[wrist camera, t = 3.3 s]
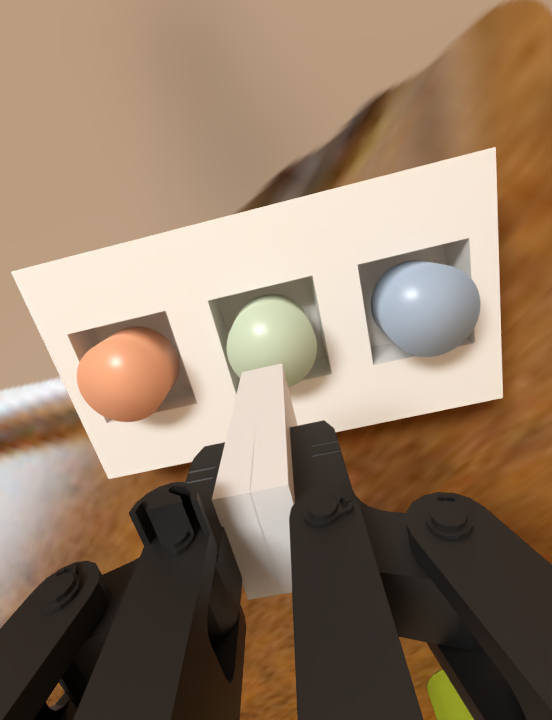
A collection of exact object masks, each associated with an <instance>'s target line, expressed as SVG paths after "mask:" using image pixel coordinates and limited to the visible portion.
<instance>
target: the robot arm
mask: <svg viewBox="0 0 552 720" xmlns="http://www.w3.org/2000/svg"><path fill="white" fill-rule="evenodd" d="M129 515H130V517H131V519H132V521H133V523H134V525H135V527H136V529H137V532H138V534H139V536H140V538H141V540H142V542H143V544H144V548H143V551H142V553H141V556H140V557H139V558H138V559H136V560H134V561H132V562H130V563H128V564H126V565H123V566H121V567H119V568H117V569H115V570H112V571H110V572H108V573H106V574H103V575H102V574H101V572H100V570H99V569H98V567H97V565H96V563H93V562H90V561H82V562H75V563H73V564H70V565H68V566H66V567H63V568H61V569H60V570H58V571H57V572H55V573H54V574H52V575H51V576H49V577H48V578H46V579H45V580H44V581H43V582H42V583H41V584H40V585H39V586H38V587H37V588H36V589H35V590H34V591H33V592H32V593H31V594H30V595H29V597H28V598H27V599H26V600H25V601H24V602H23V603H22V605H21V606H20V607H19V608H18V609H17V610H16V611H15V613H14V614H13V615H12V616H11V617H10V618H9V620H8V621H7V622H6V623H5V624H4V625H3V626H2V628H1V629H0V720H239V719H240V705H241V691H242V677H243V663H244V649H245V635H246V623H245V615H244V613H243V610H242V608H241V605H240V599H241V589H242V584H243V587H244V589H245V592H246V595H247V598H248V600H250V599H256V598H261V597H267V596H273V595H279V594H285V593H290V592H292V599H293V622H294V645H295V668H296V692H297V715H298V720H423V717H422V713H421V710H420V707H419V703H418V700H417V697H416V693H415V690H414V687H413V683H412V680H411V677H410V673H409V670H408V667H407V663H406V660H405V657H404V653H403V650H402V647H401V643H400V640H399V637H404V638H409V639H414V640H419V641H424V642H427V644H428V646H429V647H430V649H431V651H432V652H433V654H434V656H435V657H436V659H437V660H438V662H439V664H440V665H441V667H442V669H443V670H444V672H445V673H446V675H447V677H448V678H449V680H450V682H451V683H452V685H453V686H454V688H455V690H456V691H457V693H458V695H459V696H460V698H461V699H462V701H463V703H464V704H465V706H466V708H467V709H468V711H469V712H470V714H471V716H472V717H473V719H474V720H552V565H551V564H550V563H549V562H548V561H546V560H545V559H544V558H543V557H542V556H541V555H539V554H538V553H537V552H536V551H535V550H534V549H532V548H531V547H530V546H529V545H528V544H527V543H525V542H524V541H523V540H522V539H521V538H520V537H518V536H517V535H516V534H515V533H514V532H513V531H511V530H510V529H509V528H508V527H507V526H506V525H504V524H503V523H502V522H501V521H500V520H499V519H497V518H496V517H495V516H494V515H493V514H492V513H490V512H489V511H488V510H487V509H486V508H485V507H483V506H482V505H480V504H479V503H477V502H475V501H474V500H472V499H471V498H468V497H465V496H462V495H458V494H455V493H441V492H437V493H433V494H428V495H424V496H422V497H421V498H419V499H417V500H416V501H414V502H413V503H412V504H411V506H410V507H409V509H408V511H407V513H397V512H387V511H381V510H377V509H375V508H372V507H369V506H368V505H366V504H364V503H363V502H361V501H360V500H359V499H358V498H357V497H356V496H355V494H354V492H353V490H352V487H351V483H350V480H349V476H348V473H347V470H346V466H345V463H344V459H343V456H342V453H341V449H340V446H339V443H338V439H337V436H336V432H335V429H334V428H333V427H332V426H331V425H330V424H328V423H327V422H326V421H325V420H323V421H318V422H313V423H308V424H304V425H299V426H298V425H297V421H296V417H295V413H294V409H293V405H292V401H291V397H290V393H289V389H288V385H287V381H286V377H285V373H284V368H283V364H282V363H281V364H277V365H272V366H268V367H264V368H259V369H255V370H250V371H246V372H242V374H241V378H240V382H239V386H238V390H237V395H236V399H235V403H234V407H233V412H232V416H231V420H230V424H229V429H228V433H227V437H226V441H225V442H223V443H219V444H214V445H209V446H204V447H203V448H202V450H201V451H200V452H199V453H198V454H197V455H196V456H195V457H194V459H193V461H192V464H191V467H190V470H189V474H188V475H187V478H186V481H185V482H175V483H170V484H167V485H164V486H160V487H158V488H156V489H155V490H153V491H151V492H149V493H147V494H146V495H145V496H144V497H143V498H141V499H140V500H139V501H138V502H137V503H136V504H135V505H134V507H133V508H132V509H131V511H130V512H129ZM398 636H399V637H398ZM58 682H59V683H60V685H61V686H62V688H63V689H64V691H65V693H64V694H63V696H62V697H61V698H60V699H59V701H58V702H57V703H56V704H55V705H53V706H51V707H48V705H47V704H46V703H45V702H46V700H47V699H48V697H49V696H50V694H51V693H52V691H53V690H54V688H55V687H56V685H57V684H58Z"/></svg>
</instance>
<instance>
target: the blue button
mask: <svg viewBox="0 0 552 720" xmlns="http://www.w3.org/2000/svg"><path fill="white" fill-rule="evenodd" d="M371 313H372V317H373V319H374V321H375V323H376V325H377V326H378V328H379V329H380V330H381V331H382V332H383V333H384V334H385V335H387V336H388V337H389V338H390V339H391V340H392V341H393V342H394V343H395V344H396V345H397V346H398V347H399V348H401V349H402V350H403V351H405V352H407V353H409V354H412V355H415V356H419V357H433V356H439V355H442V354H445V353H447V352H449V351H451V350H453V349H455V348H456V347H458V346H459V345H460V344H461V343H463V342H464V341H465V340H466V339H467V337H468V336H469V335H470V334H471V332H472V331H473V329H474V327H475V325H476V323H477V321H478V317H479V314H480V295H479V292H478V289H477V287H476V285H475V283H474V281H473V280H472V279H471V278H470V277H469V276H468V275H467V274H466V273H465V272H463V271H462V270H460V269H458V268H455V267H452V266H448V265H443V264H439V263H434V262H429V261H424V260H409V261H404V262H401V263H399V264H397V265H395V266H393V267H391V268H390V269H389V270H388V271H386V272H385V273H384V274H383V275H382V276H381V278H380V279H379V280H378V282H377V284H376V285H375V288H374V290H373V293H372V297H371Z"/></svg>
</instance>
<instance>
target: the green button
mask: <svg viewBox="0 0 552 720" xmlns="http://www.w3.org/2000/svg"><path fill="white" fill-rule="evenodd" d="M316 354H317V341H316V337H315V333H314V331H313V328H312V326H311V323H310V320H309V318H308V316H307V314H306V312H305V311H304V309H303V308H302V307H301V306H300V305H299V304H298V303H297V302H295V301H294V300H292V299H290V298H288V297H286V296H283V295H278V294H267V295H262V296H258V297H256V298H254V299H252V300H250V301H249V302H248V303H246V304H245V305H244V306H243V307H242V308H241V310H240V311H239V313H238V315H237V317H236V319H235V321H234V323H233V325H232V328H231V330H230V332H229V335H228V339H227V356H228V360H229V363H230V365H231V367H232V369H233V370H234V372H235V373H236V374H237V375H238V377H239V378H241V374H242V372H246V371H250V370H255V369H259V368H264V367H268V366H272V365H277V364H281V363H282V364H283V368H284V373H285V377H286V381H287V385H288V388H289V387H291V386H293V385H295V384H297V383H298V382H300V381H301V380H302V379H303V378H304V377H305V376H306V375H307V374H308V373H309V372H310V370H311V368H312V367H313V364H314V362H315V359H316Z"/></svg>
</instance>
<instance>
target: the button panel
mask: <svg viewBox="0 0 552 720" xmlns="http://www.w3.org/2000/svg"><path fill="white" fill-rule="evenodd" d="M409 260H424V261H429V262H434V263H439V264H443V265H448V266H452V267H455V268H458V269H460V270H462V271H463V272H465V273H466V274H467V275H468V276H469V277H470V278H471V279H472V280H473V281H474V283H475V285H476V287H477V289H478V292H479V295H480V314H479V317H478V321H477V323H476V325H475V327H474V329H473V331H472V332H471V334H470V335H469V336H468V337H467V339H466V340H465V341H464V342H463V343H461V344H460V345H459V346H458V347H456V348H455V349H453V350H451V351H449V352H447V353H445V354H442V355H439V356H433V357H419V356H415V355H412V354H409V353H407V352H405V351H403V350H402V349H401V348H399V347H398V346H397V345H396V344H395V343H394V342H393V341H392V340H391V339H390V338H389V337H388V336H387V335H385V334H384V333H383V332H382V331H381V330H380V329H379V328H378V326H377V325H376V323H375V321H374V319H373V317H372V313H371V297H372V293H373V290H374V288H375V285H376V284H377V282H378V280H379V279H380V278H381V276H382V275H383V274H384V273H385V272H386V271H388V270H389V269H390V268H391V267H393V266H395V265H397V264H399V263H401V262H404V261H409ZM11 273H12V275H13V277H14V279H15V282H16V284H17V286H18V288H19V290H20V292H21V294H22V296H23V299H24V301H25V303H26V305H27V307H28V309H29V311H30V313H31V315H32V318H33V320H34V322H35V324H36V326H37V328H38V330H39V332H40V335H41V337H42V339H43V341H44V343H45V345H46V347H47V349H48V352H49V354H50V356H51V358H52V360H53V362H54V364H55V366H56V368H57V371H58V373H59V375H60V377H61V379H62V381H63V383H64V385H65V388H66V390H67V392H68V394H69V396H70V398H71V400H72V402H73V404H74V407H75V409H76V411H77V413H78V415H79V417H80V419H81V421H82V424H83V426H84V428H85V430H86V432H87V434H88V436H89V438H90V440H91V443H92V445H93V447H94V449H95V451H96V453H97V455H98V457H99V460H100V462H101V464H102V466H103V468H104V470H105V472H106V474H107V476H108V479H111V478H116V477H121V476H126V475H130V474H135V473H140V472H145V471H150V470H155V469H160V468H165V467H169V466H174V465H179V464H184V463H189V462H192V461H193V459H194V457H195V456H196V455H197V454H198V453H199V452H200V451H201V450H202V448H203V447H204V446H209V445H214V444H219V443H223V442H225V441H226V437H227V433H228V429H229V424H230V420H231V416H232V412H233V407H234V403H235V399H236V395H237V390H238V386H239V382H240V378H239V377H238V375H237V374H236V373H235V372H234V370H233V369H232V367H231V365H230V363H229V360H228V356H227V339H228V335H229V332H230V330H231V328H232V325H233V323H234V321H235V319H236V317H237V315H238V313H239V311H240V310H241V308H242V307H243V306H244V305H245V304H246V303H248V302H249V301H250V300H252V299H254V298H256V297H258V296H262V295H267V294H278V295H283V296H286V297H288V298H290V299H292V300H294V301H295V302H297V303H298V304H299V305H300V306H301V307H302V308H303V309H304V311H305V312H306V314H307V316H308V318H309V320H310V323H311V326H312V328H313V331H314V333H315V337H316V341H317V354H316V359H315V362H314V364H313V367H312V368H311V370H310V372H309V373H308V374H307V375H306V376H305V377H304V378H303V379H302V380H301V381H300V382H298V383H297V384H295V385H293V386H291V387H289V388H288V389H289V393H290V397H291V401H292V405H293V409H294V413H295V417H296V421H297V425H298V426H299V425H304V424H308V423H313V422H318V421H323V420H325V421H326V422H327V423H328V424H330V425H331V426H332V427H333V428H334V429H335V432H340V431H344V430H349V429H354V428H359V427H364V426H369V425H374V424H378V423H383V422H388V421H393V420H398V419H403V418H408V417H412V416H417V415H422V414H427V413H432V412H437V411H442V410H446V409H451V408H456V407H461V406H466V405H471V404H476V403H480V402H485V401H490V400H495V399H500V398H503V383H502V349H501V314H500V280H499V245H498V211H497V176H496V147H494V148H490V149H486V150H482V151H478V152H474V153H471V154H467V155H463V156H459V157H455V158H451V159H447V160H443V161H439V162H436V163H432V164H428V165H424V166H420V167H416V168H412V169H408V170H405V171H401V172H397V173H393V174H389V175H385V176H381V177H377V178H373V179H370V180H366V181H362V182H358V183H354V184H350V185H346V186H342V187H338V188H335V189H331V190H327V191H323V192H319V193H315V194H311V195H307V196H304V197H300V198H296V199H292V200H288V201H284V202H280V203H276V204H272V205H269V206H265V207H261V208H257V209H253V210H249V211H245V212H241V213H238V214H234V215H230V216H226V217H222V218H218V219H214V220H210V221H206V222H203V223H199V224H195V225H191V226H187V227H184V228H179V229H176V230H171V231H168V232H164V233H160V234H156V235H152V236H148V237H144V238H141V239H137V240H133V241H129V242H125V243H121V244H117V245H114V246H109V247H106V248H102V249H98V250H94V251H90V252H86V253H82V254H78V255H74V256H71V257H67V258H63V259H59V260H55V261H51V262H47V263H43V264H40V265H36V266H32V267H28V268H24V269H20V270H16V271H12V272H11ZM134 326H139V327H146V328H150V329H152V330H155V331H157V332H159V333H160V334H162V335H163V336H164V337H166V338H167V339H168V340H169V341H170V343H171V344H172V345H173V347H174V348H175V350H176V352H177V355H178V358H179V364H180V369H179V375H178V378H177V380H176V382H175V383H174V385H173V386H172V388H171V390H170V391H169V393H168V394H167V396H166V397H165V399H164V400H163V402H162V403H161V405H160V406H159V408H158V409H157V410H156V411H155V412H154V413H153V414H152V415H150V416H149V417H147V418H145V419H142V420H139V421H135V422H119V421H114V420H111V419H108V418H106V417H104V416H102V415H100V414H99V413H97V412H96V411H95V410H93V409H92V408H91V407H90V406H89V405H88V404H87V403H86V401H85V400H84V398H83V397H82V395H81V393H80V390H79V388H78V384H77V369H78V365H79V362H80V361H81V359H82V357H83V356H84V355H85V353H86V352H88V351H89V350H90V349H91V348H93V347H94V346H96V345H97V344H99V343H101V342H102V341H104V340H105V339H107V338H108V337H110V336H111V335H113V334H115V333H116V332H118V331H119V330H122V329H124V328H127V327H134Z"/></svg>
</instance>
